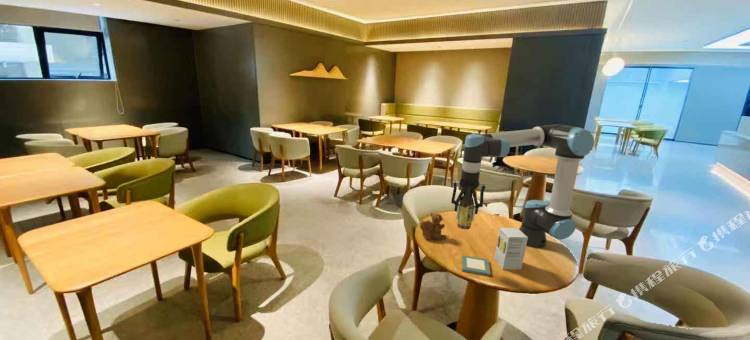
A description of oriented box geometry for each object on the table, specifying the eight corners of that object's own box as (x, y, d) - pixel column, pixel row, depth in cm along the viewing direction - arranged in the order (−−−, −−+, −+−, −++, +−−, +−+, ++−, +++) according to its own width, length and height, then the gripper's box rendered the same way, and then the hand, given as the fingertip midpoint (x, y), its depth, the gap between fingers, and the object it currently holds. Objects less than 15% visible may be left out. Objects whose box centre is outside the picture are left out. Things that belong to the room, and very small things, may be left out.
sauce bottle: (468, 231, 137) (473, 189, 131) (454, 227, 140) (459, 186, 134) (472, 226, 142) (478, 185, 136) (459, 222, 145) (464, 182, 140)
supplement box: (493, 258, 150) (498, 227, 146) (511, 258, 151) (517, 227, 146) (502, 270, 141) (508, 237, 137) (522, 269, 142) (528, 237, 137)
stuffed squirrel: (447, 238, 168) (450, 216, 164) (426, 243, 162) (428, 220, 158) (436, 230, 176) (439, 209, 172) (416, 235, 170) (418, 213, 166)
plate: (487, 261, 147) (488, 259, 147) (490, 276, 136) (490, 273, 136) (461, 257, 150) (462, 254, 150) (462, 271, 139) (462, 268, 138)
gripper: (493, 170, 135) (486, 218, 141) (448, 166, 139) (443, 212, 146) (495, 175, 128) (487, 225, 134) (447, 170, 132) (442, 219, 139)
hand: (464, 218), depth 140 cm, fingers closed on sauce bottle, 6 cm apart
